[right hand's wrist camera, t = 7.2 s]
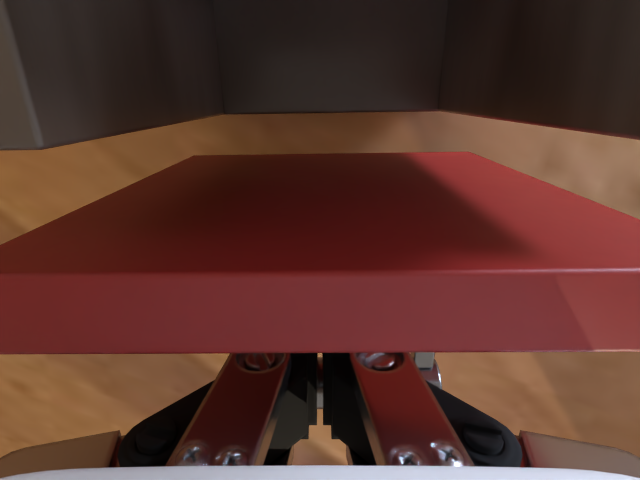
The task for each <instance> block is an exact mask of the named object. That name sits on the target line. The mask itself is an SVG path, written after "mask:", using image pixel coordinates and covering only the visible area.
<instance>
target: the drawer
mask: <svg viewBox="0 0 640 480" xmlns="http://www.w3.org/2000/svg"><path fill="white" fill-rule="evenodd" d="M419 111H442V112H449V113H455V114H462V115H469V116H476V117H483V118H490V119H497V120H504V121H511V122H518V123H525V124H532V125H539V126H546V127H553V128H560V129H567V130H574V131H581V132H588V133H595V134H602V135H609V136H616V137H623V138H630V139H637V140H640V0H0V150H43V149H48V148H53V147H59V146H64V145H69V144H74V143H79V142H84V141H90V140H95V139H100V138H105V137H110V136H115V135H120V134H126V133H131V132H136V131H141V130H146V129H151V128H157V127H162V126H167V125H172V124H177V123H182V122H187V121H193V120H198V119H203V118H208V117H213V116H218V115H228V114H292V113H355V112H419ZM614 351H640V220H639V219H637V218H634V217H632V216H629V215H627V214H624V213H622V212H619V211H617V210H614V209H612V208H609V207H607V206H604V205H602V204H599V203H597V202H594V201H592V200H589V199H586V198H584V197H581V196H579V195H576V194H574V193H571V192H569V191H566V190H564V189H561V188H559V187H556V186H554V185H551V184H549V183H546V182H544V181H541V180H539V179H536V178H534V177H531V176H529V175H526V174H523V173H521V172H518V171H516V170H513V169H511V168H508V167H506V166H503V165H501V164H498V163H496V162H493V161H491V160H488V159H486V158H483V157H481V156H478V155H476V154H473V153H471V152H419V153H347V154H274V155H202V156H192V157H190V158H188V159H185V160H183V161H181V162H179V163H177V164H175V165H172V166H170V167H168V168H166V169H164V170H162V171H159V172H157V173H155V174H153V175H151V176H149V177H146V178H144V179H142V180H140V181H138V182H136V183H134V184H131V185H129V186H127V187H125V188H123V189H121V190H118V191H116V192H114V193H112V194H110V195H108V196H105V197H103V198H101V199H99V200H97V201H95V202H92V203H90V204H88V205H86V206H84V207H82V208H80V209H77V210H75V211H73V212H71V213H69V214H67V215H64V216H62V217H60V218H58V219H56V220H54V221H51V222H49V223H47V224H45V225H43V226H41V227H38V228H36V229H34V230H32V231H30V232H28V233H26V234H23V235H21V236H19V237H17V238H15V239H13V240H10V241H8V242H6V243H4V244H2V245H0V354H171V353H393V352H410V355H411V356H412V358H413V360H414V362H415V363H416V365H417V367H418V368H419V370H420V372H421V374H422V375H423V377H424V379H425V380H426V381H428V382H430V383H431V384H433V385H435V386H437V387H439V388H440V389H442V382H441V376H440V371H439V367H438V365H437V362H436V360H435V359H434V356H435V352H614ZM317 409H323V357H317Z"/></svg>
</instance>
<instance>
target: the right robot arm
mask: <svg viewBox="0 0 640 480" xmlns="http://www.w3.org/2000/svg"><path fill="white" fill-rule="evenodd" d="M309 425H317V353H230V355H229V356H228V358H227V360H226V362H225V363H224V365H223V367H222V368H221V370H220V372H219V374H218V375H217V377H216V379H215V380H214V381H212V382H210V383H209V384H207V385H205V386H203V387H201V388H200V389H198V390H196V391H194V392H193V393H191V394H189V395H187V396H185V397H184V398H182V399H180V400H178V401H177V402H175V403H173V404H171V405H170V406H168V407H166V408H164V409H162V410H161V411H159V412H157V413H155V414H154V415H152V416H150V417H148V418H147V419H145V420H143V421H142V422H140V423H139V424H137V425H136V426H134V427H133V428H132V429H131V430H130V431H129V432H128V433H127V434H126V435H124V436H121V433H120V430H118V431H113V432H107V433H102V434H96V435H91V436H86V437H80V438H75V439H69V440H64V441H58V442H53V443H48V444H42V445H37V446H31V447H26V448H23V449H19V450H16V451H13V452H10V453H8V454H7V455H5V456H3V457H1V458H0V480H640V458H639V457H637V456H635V455H633V454H632V453H630V452H627V451H624V450H621V449H617V448H614V447H609V446H603V445H598V444H592V443H587V442H582V441H576V440H571V439H565V438H560V437H554V436H549V435H544V434H538V433H533V432H527V431H522V430H520V433H519V436H516V435H514V434H513V433H512V432H511V431H510V430H509V429H508V428H507V427H506V426H504V425H503V424H501V423H500V422H498V421H497V420H495V419H494V418H492V417H490V416H488V415H486V414H485V413H483V412H481V411H479V410H478V409H476V408H474V407H472V406H470V405H469V404H467V403H465V402H463V401H462V400H460V399H458V398H456V397H455V396H453V395H451V394H449V393H447V392H446V391H444V390H442V389H440V388H439V387H437V386H435V385H433V384H431V383H430V382H428V381H426V380H425V379H424V377H423V375H422V374H421V372H420V370H419V368H418V367H417V365H416V363H415V362H414V360H413V358H412V356H411V355H410V353H409V352H393V353H323V425H331V435H332V439H340V440H341V441H342V442H344V443H345V444H346V457H347V461H348V466H333V465H308V466H292V461H293V457H294V444H295V443H296V442H298V441H299V440H300V439H308V435H309Z"/></svg>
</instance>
